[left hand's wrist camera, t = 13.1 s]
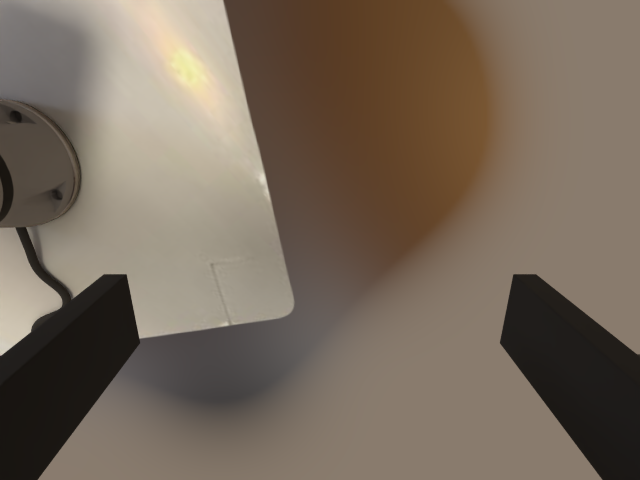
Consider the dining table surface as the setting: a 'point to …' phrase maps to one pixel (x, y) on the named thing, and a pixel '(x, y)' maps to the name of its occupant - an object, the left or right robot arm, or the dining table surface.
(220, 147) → the dining table surface
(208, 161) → the dining table surface
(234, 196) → the dining table surface
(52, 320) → the left robot arm
